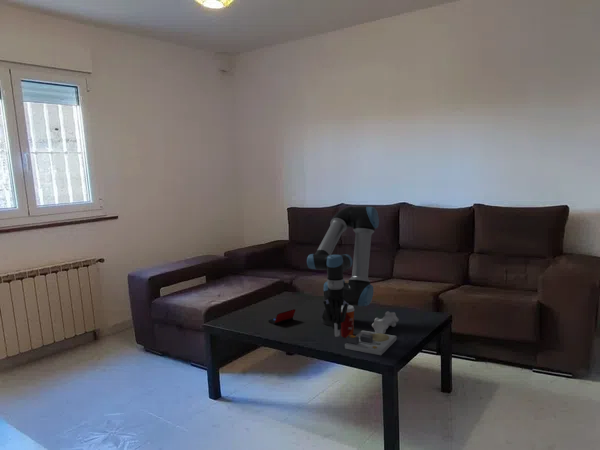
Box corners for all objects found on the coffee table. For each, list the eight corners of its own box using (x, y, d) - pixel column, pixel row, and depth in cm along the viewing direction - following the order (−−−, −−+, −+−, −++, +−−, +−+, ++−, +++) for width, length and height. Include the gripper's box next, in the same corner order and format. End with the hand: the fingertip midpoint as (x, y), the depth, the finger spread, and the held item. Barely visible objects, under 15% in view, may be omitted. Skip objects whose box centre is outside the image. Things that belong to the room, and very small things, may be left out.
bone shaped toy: (385, 324, 244) (383, 310, 244) (400, 326, 239) (398, 311, 238) (371, 333, 232) (369, 318, 232) (387, 335, 227) (385, 319, 226)
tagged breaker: (346, 343, 214) (346, 336, 214) (349, 341, 217) (349, 334, 216) (356, 345, 212) (356, 338, 211) (359, 342, 214) (358, 336, 214)
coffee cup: (354, 339, 225) (353, 309, 223) (338, 338, 227) (337, 309, 225) (356, 332, 233) (355, 304, 231) (340, 332, 235) (339, 304, 233)
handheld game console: (285, 316, 264) (285, 304, 263) (296, 321, 255) (296, 308, 254) (267, 322, 256) (266, 309, 255) (278, 327, 248) (277, 313, 247)
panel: (344, 348, 214) (344, 338, 213) (362, 334, 231) (362, 324, 230) (381, 355, 205) (380, 344, 204) (396, 339, 221) (396, 330, 221)
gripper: (319, 288, 215) (321, 336, 218) (344, 291, 208) (346, 340, 211) (327, 284, 222) (328, 331, 225) (351, 287, 215) (353, 335, 218)
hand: (337, 335), depth 218 cm, fingers closed
